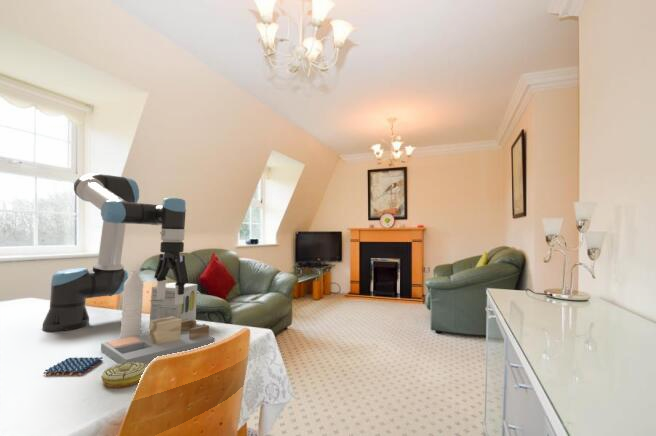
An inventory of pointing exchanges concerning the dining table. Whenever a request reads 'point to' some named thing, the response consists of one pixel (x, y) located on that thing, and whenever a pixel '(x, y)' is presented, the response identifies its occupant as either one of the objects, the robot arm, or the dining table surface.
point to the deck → (149, 347)
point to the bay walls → (194, 329)
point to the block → (165, 330)
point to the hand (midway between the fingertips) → (169, 301)
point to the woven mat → (73, 366)
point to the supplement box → (168, 307)
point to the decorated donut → (123, 374)
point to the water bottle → (132, 306)
